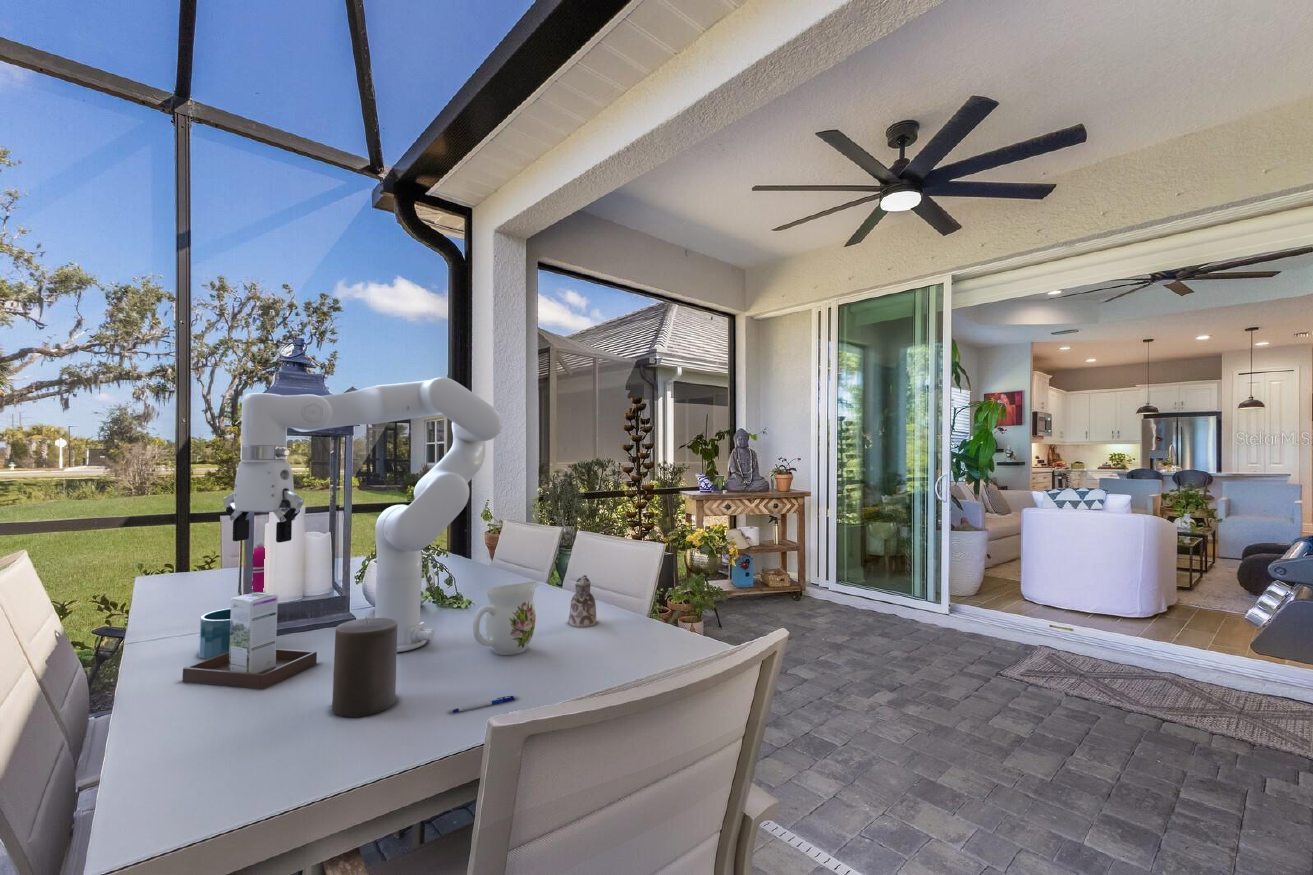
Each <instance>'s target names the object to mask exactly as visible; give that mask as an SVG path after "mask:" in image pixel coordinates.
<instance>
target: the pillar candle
mask: <svg viewBox="0 0 1313 875" xmlns="http://www.w3.org/2000/svg"><path fill="white" fill-rule="evenodd" d="M397 625H398V623H397V620H395V619H389V618H375V617H367V616H365V618H357V619H353V620H349V621H345V622H343V623H340V624H338V625H337V626H336V627H335V636H334V657H333V674H332V675H333V677H332V678H333V680H332V702H331V708H332V709H331V710H332V712H333V714H334V715H336V716H339V717H345V718H347V717H352V718H353V717H354V718H358V717H362V718H363V717H367V716H371V715H375V714H377V713H380V712H383V711H385V710H387V709H389V708H391V707H392V706H393V705H394V703H395V702H396V692H397V690H396V687H397V657H398V656H397V655H398V652H397Z"/></svg>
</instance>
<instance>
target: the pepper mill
mask: <svg viewBox="0 0 1313 875" xmlns="http://www.w3.org/2000/svg"><path fill="white" fill-rule="evenodd" d="M264 543H265V542H264V541H263V540H259V541H257V543H256V546H255V547H253V548H254V554H253V581H252V586H253V593H255V592H260V593H263V588H264V559H265V548H264V547H265V545H264Z"/></svg>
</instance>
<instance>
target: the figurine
mask: <svg viewBox="0 0 1313 875" xmlns="http://www.w3.org/2000/svg"><path fill="white" fill-rule="evenodd" d="M591 584H592V583H591V581H590V579H589V578H588V575H587V574H583V575H582V576H580V577H578V579H577V580H576V581H575V583H574V587H575V593H574V594H573V595H572V598H571V600H570V608H569V615H568V624H570V625H571V626H572V627H578V628H584V627H593V626H594V625H596V623H597V605H596V604H597V603H596V600H595V596H594V594H592V593H591Z"/></svg>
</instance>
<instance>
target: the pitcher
mask: <svg viewBox="0 0 1313 875" xmlns="http://www.w3.org/2000/svg"><path fill="white" fill-rule="evenodd" d="M539 584H540V582H539V581H527V582H522V583H513V584H505V585H501V586H496V587H493V588H490V589H488V590H487V593H486V594H487V598H488V605H485V606H481V607H480V608H479V609H478V610H477V611H476V613H475V615H474V618H473V623H472V630H473V631H472V632H473V637H474V639H475V641H476V642H477V643H478V644H480V645H481V646H484V647H491V649H492V650H493V651H494V653H495V654H498V655H501V656H511V655H518V654H521V653H523V652H525V651H526V649H527V647H528V646H529V645H530V643H531V641H532V638H533V635H534V631H535V629H536V621H537V620H536V618H537V613H536V607H535V604H534V596H535V591H536V588H537V587H538V586H539ZM484 614H485V617H484V627H485V635H486V638H487V639H486V638H484V637H483V636H482V634H481V631H480V623H481V621H482V620H481V619H482V617H483V615H484Z"/></svg>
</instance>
